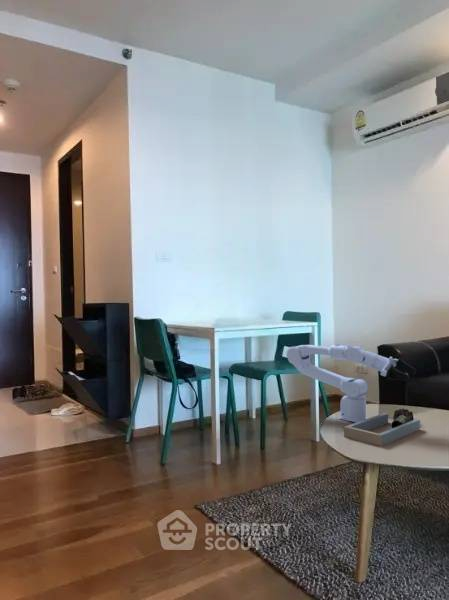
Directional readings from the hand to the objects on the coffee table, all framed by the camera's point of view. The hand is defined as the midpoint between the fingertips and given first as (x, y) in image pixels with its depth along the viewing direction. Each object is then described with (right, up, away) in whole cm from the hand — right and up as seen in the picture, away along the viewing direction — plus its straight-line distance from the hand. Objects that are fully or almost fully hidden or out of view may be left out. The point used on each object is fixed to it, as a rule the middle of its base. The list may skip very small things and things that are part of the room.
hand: (412, 375), depth 173 cm
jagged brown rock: (-2, -20, +5) cm, 21 cm away
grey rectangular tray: (-12, -20, -4) cm, 24 cm away
